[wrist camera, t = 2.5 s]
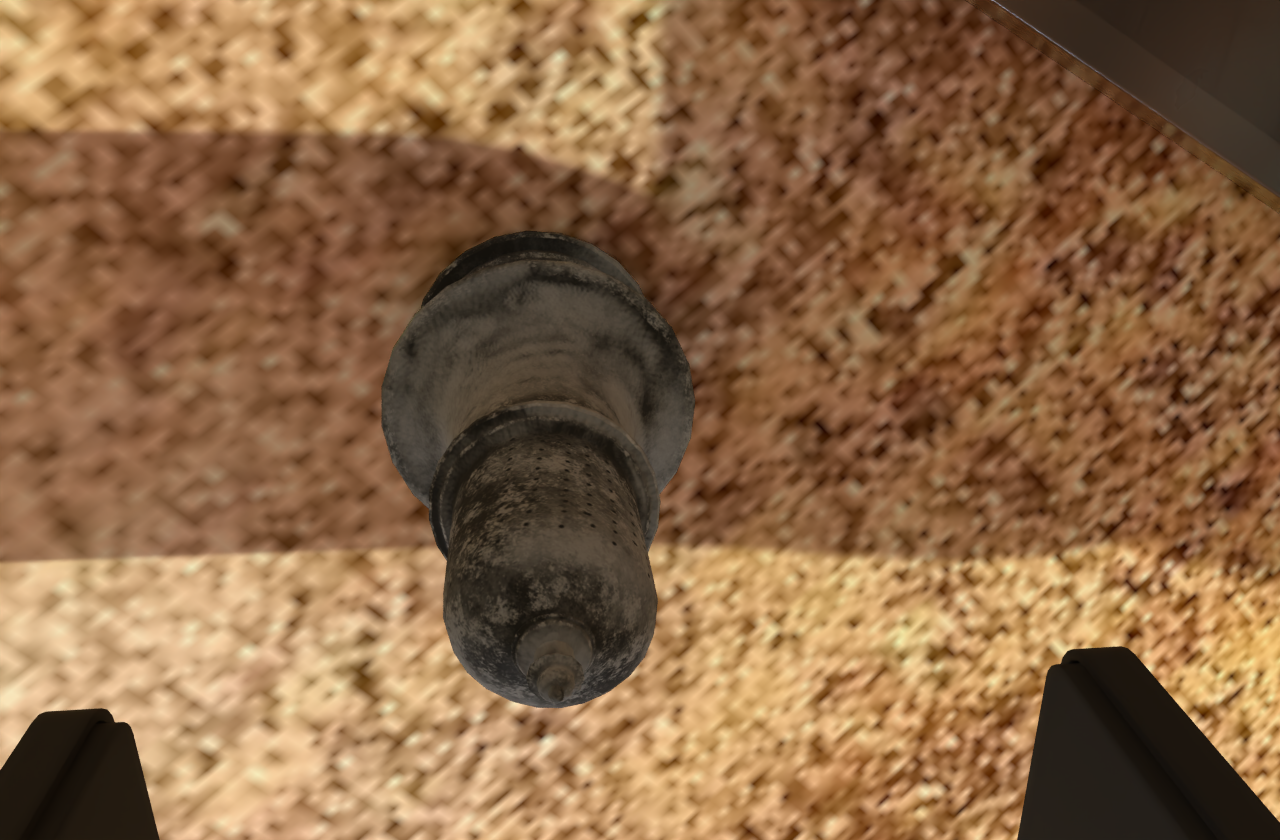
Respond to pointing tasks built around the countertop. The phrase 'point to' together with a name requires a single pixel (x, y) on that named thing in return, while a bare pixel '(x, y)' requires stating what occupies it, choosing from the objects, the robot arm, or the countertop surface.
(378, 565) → the countertop surface
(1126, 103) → the board
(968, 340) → the countertop surface
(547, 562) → the stone chess piece
